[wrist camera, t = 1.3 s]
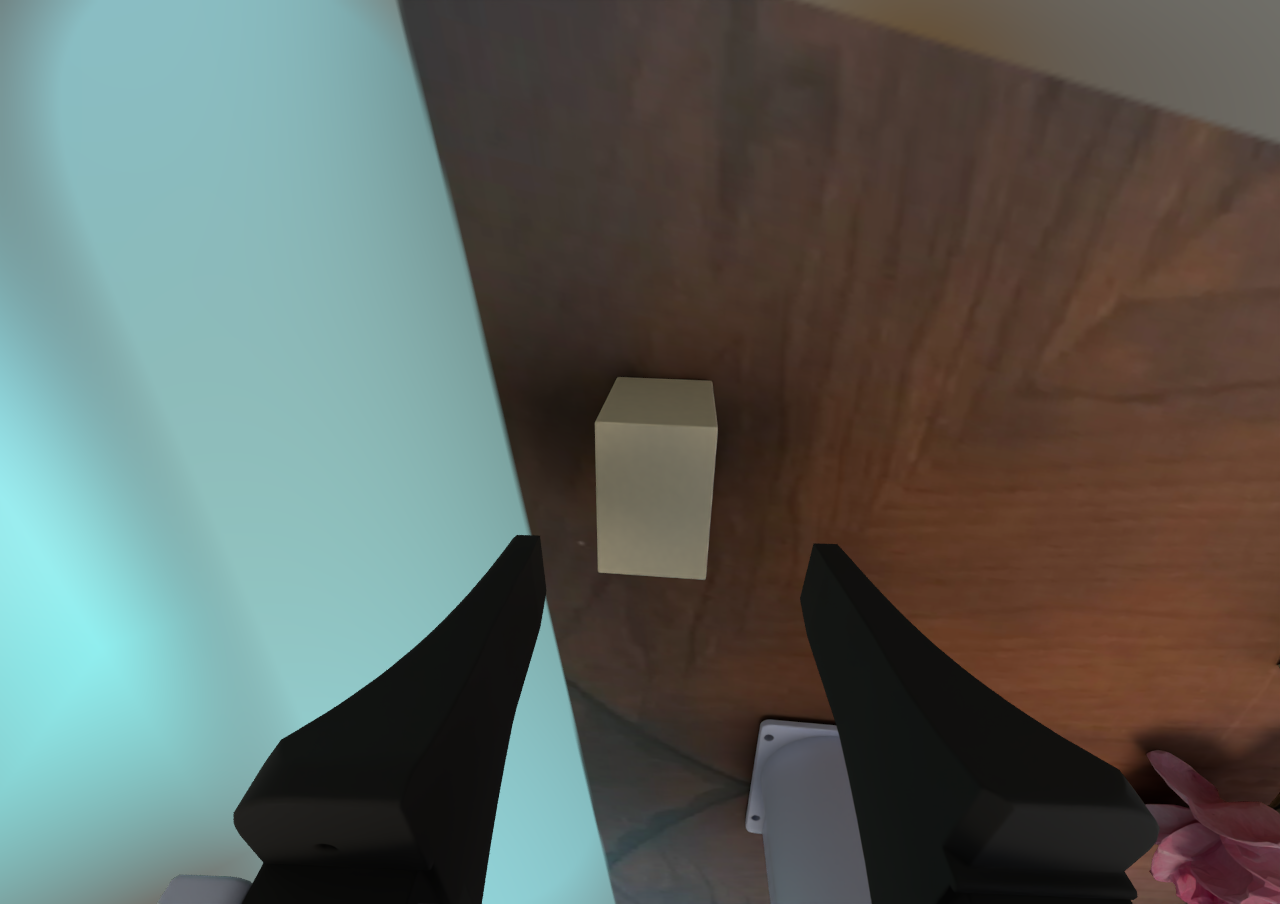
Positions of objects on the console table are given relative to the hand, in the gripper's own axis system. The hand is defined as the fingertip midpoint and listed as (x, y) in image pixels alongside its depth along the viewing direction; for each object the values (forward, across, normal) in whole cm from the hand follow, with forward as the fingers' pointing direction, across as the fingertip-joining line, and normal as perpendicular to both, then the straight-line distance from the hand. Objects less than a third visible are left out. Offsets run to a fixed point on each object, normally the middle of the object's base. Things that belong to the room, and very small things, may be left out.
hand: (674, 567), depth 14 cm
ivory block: (+10, 0, +2) cm, 10 cm away
